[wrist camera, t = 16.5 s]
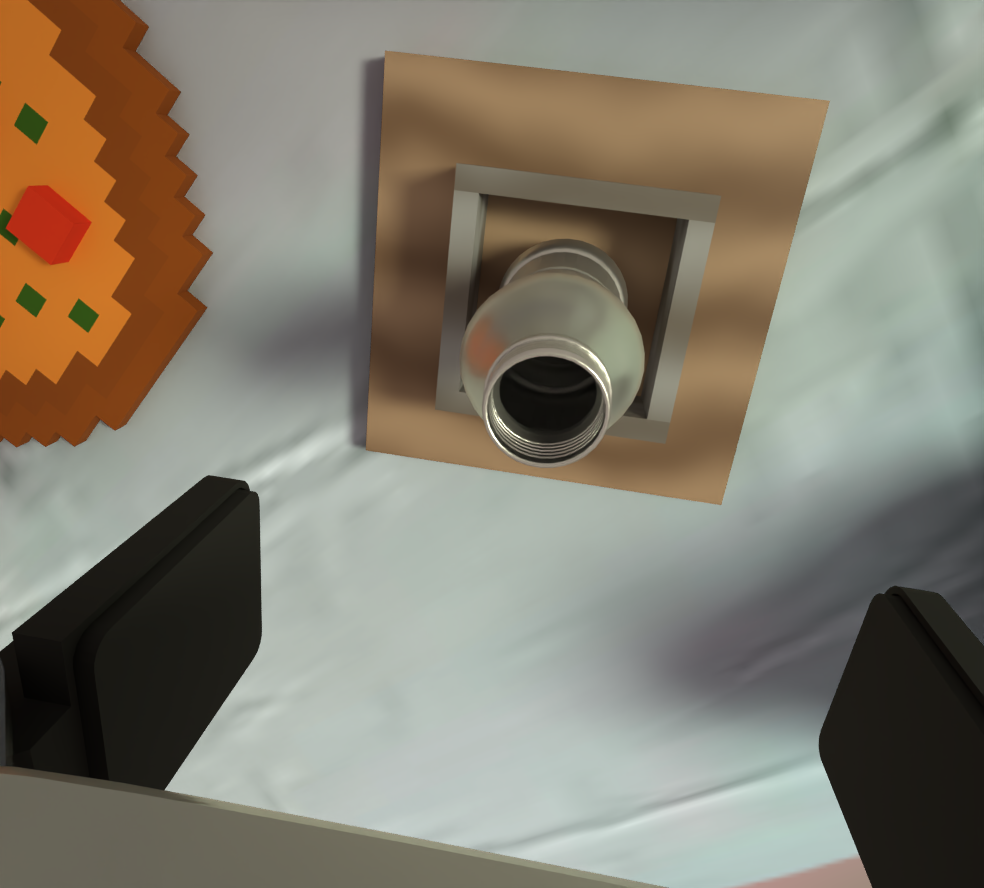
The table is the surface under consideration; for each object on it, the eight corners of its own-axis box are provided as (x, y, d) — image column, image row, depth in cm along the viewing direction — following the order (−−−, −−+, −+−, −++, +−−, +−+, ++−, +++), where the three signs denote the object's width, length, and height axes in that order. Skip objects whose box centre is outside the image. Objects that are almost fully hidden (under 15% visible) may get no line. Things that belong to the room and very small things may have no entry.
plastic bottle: (629, 344, 39) (674, 503, 20) (510, 358, 40) (450, 521, 21) (620, 225, 36) (661, 281, 18) (494, 243, 37) (410, 313, 19)
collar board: (392, 55, 36) (361, 36, 31) (819, 103, 35) (860, 91, 30) (372, 441, 44) (345, 476, 39) (716, 494, 43) (734, 537, 38)
